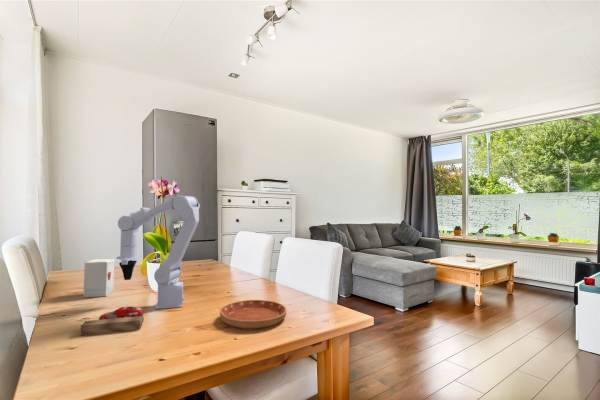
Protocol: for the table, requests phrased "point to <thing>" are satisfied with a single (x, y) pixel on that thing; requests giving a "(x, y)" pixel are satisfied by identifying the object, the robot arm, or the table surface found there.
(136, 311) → the race car
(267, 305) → the saucer
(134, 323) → the chock stand
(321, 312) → the table surface
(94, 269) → the supplement box
